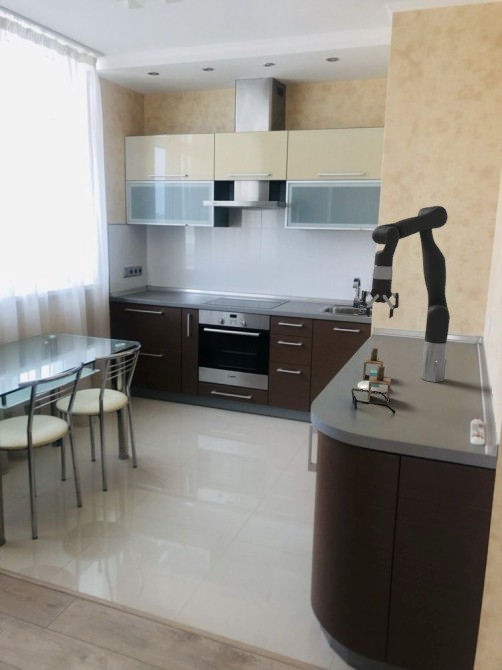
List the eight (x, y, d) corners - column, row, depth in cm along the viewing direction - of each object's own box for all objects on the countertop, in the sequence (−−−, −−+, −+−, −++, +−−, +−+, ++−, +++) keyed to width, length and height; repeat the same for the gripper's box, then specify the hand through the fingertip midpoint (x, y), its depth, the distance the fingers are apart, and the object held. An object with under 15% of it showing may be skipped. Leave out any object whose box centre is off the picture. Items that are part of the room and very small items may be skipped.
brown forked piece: (381, 376, 248) (384, 347, 245) (381, 381, 241) (383, 351, 238) (363, 374, 250) (365, 346, 247) (362, 379, 243) (365, 350, 240)
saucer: (396, 390, 228) (396, 387, 228) (371, 394, 222) (372, 392, 221) (374, 382, 239) (374, 379, 239) (350, 385, 233) (351, 383, 232)
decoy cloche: (388, 397, 219) (391, 365, 216) (388, 404, 212) (391, 370, 209) (368, 395, 221) (370, 363, 218) (367, 401, 213) (370, 368, 211)
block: (378, 384, 232) (379, 370, 230) (378, 387, 228) (379, 373, 227) (369, 383, 233) (370, 369, 231) (368, 386, 229) (370, 372, 227)
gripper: (400, 277, 222) (397, 317, 226) (364, 275, 225) (361, 314, 229) (401, 279, 215) (397, 320, 219) (363, 277, 218) (360, 317, 222)
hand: (379, 317), depth 224 cm, fingers open, 8 cm apart
